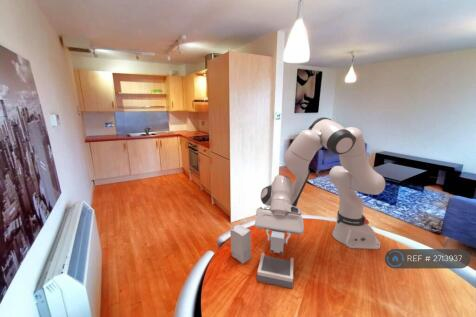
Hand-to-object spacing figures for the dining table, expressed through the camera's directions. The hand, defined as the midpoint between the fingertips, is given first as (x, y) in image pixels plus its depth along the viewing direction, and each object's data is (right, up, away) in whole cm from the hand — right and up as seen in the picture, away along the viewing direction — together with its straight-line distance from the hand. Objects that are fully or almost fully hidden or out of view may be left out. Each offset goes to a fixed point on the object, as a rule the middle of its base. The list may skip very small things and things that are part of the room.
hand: (277, 242), depth 86 cm
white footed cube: (0, -4, +2) cm, 5 cm away
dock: (0, -15, +5) cm, 16 cm away
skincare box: (-15, -13, +14) cm, 24 cm away
